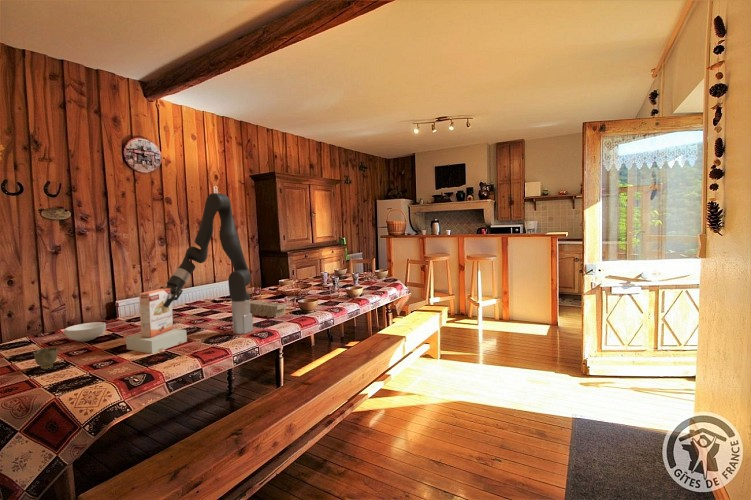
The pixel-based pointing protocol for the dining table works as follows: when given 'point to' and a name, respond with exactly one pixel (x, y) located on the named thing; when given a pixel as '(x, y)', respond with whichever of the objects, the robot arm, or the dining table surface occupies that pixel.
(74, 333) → the cereal bowl
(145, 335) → the cracker box
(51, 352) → the cup
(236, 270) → the robot arm
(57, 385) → the dining table surface
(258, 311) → the block tower
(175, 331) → the pale square block
